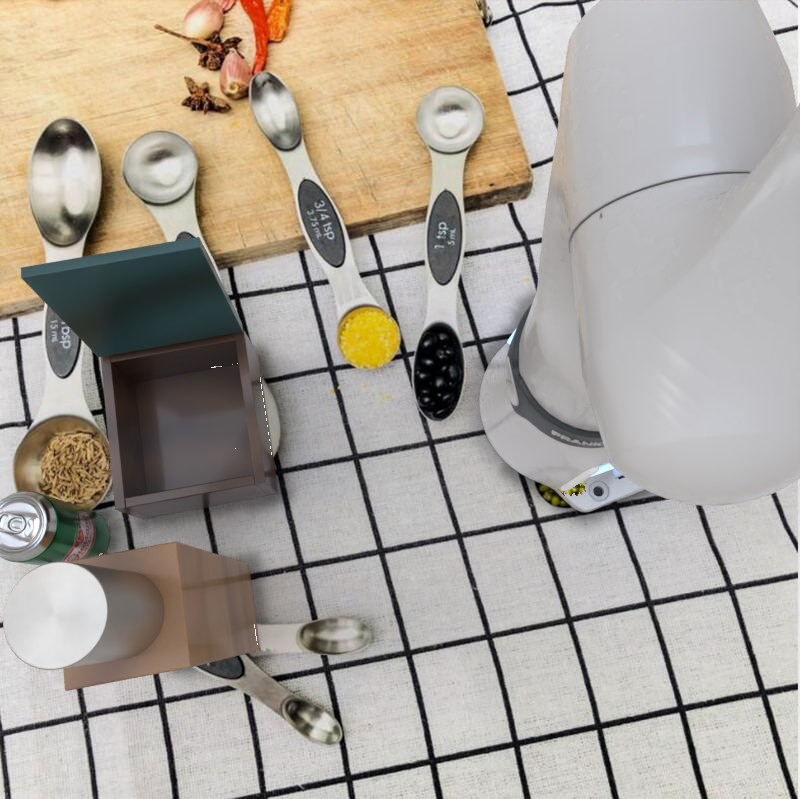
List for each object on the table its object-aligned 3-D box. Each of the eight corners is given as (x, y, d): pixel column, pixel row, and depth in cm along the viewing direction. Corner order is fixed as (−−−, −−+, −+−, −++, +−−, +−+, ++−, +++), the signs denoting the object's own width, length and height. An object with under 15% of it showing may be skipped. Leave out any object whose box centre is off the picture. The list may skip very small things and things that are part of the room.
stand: (248, 563, 69) (176, 541, 48) (260, 650, 67) (190, 667, 46) (165, 579, 69) (54, 563, 47) (174, 666, 67) (64, 691, 46)
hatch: (200, 247, 54) (199, 236, 54) (20, 278, 53) (20, 267, 53) (243, 331, 66) (242, 322, 66) (98, 357, 66) (97, 348, 66)
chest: (279, 494, 70) (265, 482, 64) (142, 519, 70) (115, 510, 63) (258, 354, 73) (243, 329, 67) (128, 378, 73) (100, 354, 66)
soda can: (102, 575, 69) (39, 568, 57) (43, 563, 69) (-31, 553, 57) (119, 515, 70) (61, 496, 58) (62, 503, 70) (-8, 482, 59)
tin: (159, 563, 47) (102, 552, 39) (168, 650, 46) (112, 659, 37) (75, 579, 47) (-1, 571, 38) (82, 666, 46) (5, 679, 37)
